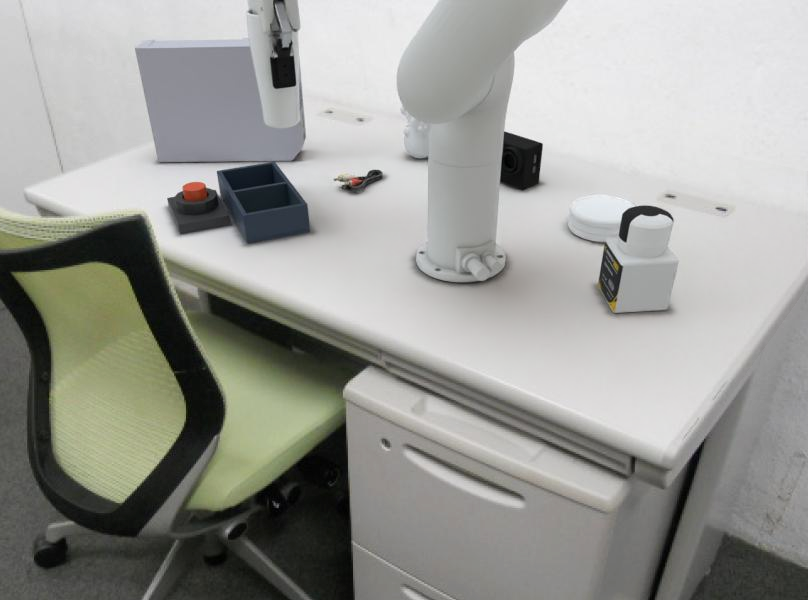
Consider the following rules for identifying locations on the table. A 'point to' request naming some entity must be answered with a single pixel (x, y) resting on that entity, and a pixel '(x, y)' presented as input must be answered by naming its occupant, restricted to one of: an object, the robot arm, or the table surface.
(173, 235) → the table surface
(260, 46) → the drinking glass
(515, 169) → the digital camera
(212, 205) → the control block
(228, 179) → the divided tray
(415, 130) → the figurine
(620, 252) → the medicine bottle
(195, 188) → the button
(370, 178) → the composite cable
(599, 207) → the round white container
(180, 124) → the game console
